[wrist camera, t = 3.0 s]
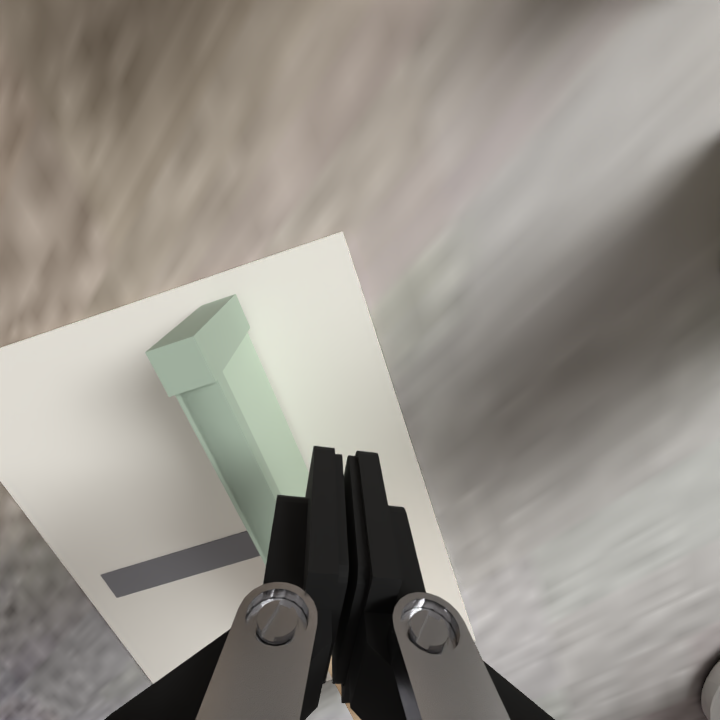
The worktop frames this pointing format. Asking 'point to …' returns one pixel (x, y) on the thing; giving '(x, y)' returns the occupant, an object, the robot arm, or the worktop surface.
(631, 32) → the worktop surface
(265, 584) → the robot arm
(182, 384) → the mint green long bar
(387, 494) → the card
